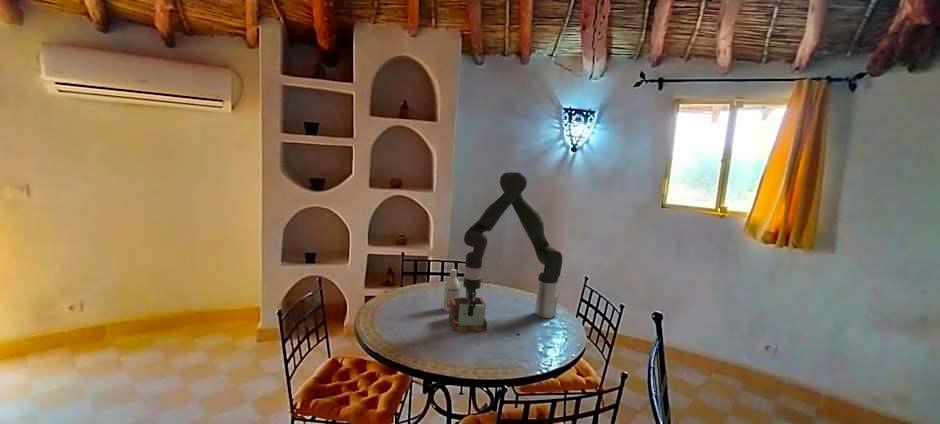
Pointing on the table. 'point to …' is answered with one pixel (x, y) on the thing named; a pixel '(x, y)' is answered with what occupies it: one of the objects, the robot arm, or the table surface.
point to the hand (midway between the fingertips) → (469, 314)
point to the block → (471, 320)
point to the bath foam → (451, 289)
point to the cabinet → (454, 314)
